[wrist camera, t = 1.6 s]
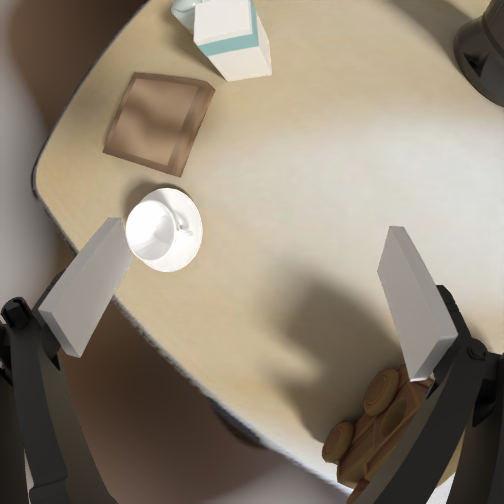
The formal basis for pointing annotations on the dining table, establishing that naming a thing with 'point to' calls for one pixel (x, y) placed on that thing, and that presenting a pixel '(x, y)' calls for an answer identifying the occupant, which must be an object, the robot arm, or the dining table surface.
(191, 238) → the teacup
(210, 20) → the milk carton
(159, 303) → the dining table surface
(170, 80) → the podium
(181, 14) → the celadon jar
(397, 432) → the wooden toy train
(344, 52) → the dining table surface
